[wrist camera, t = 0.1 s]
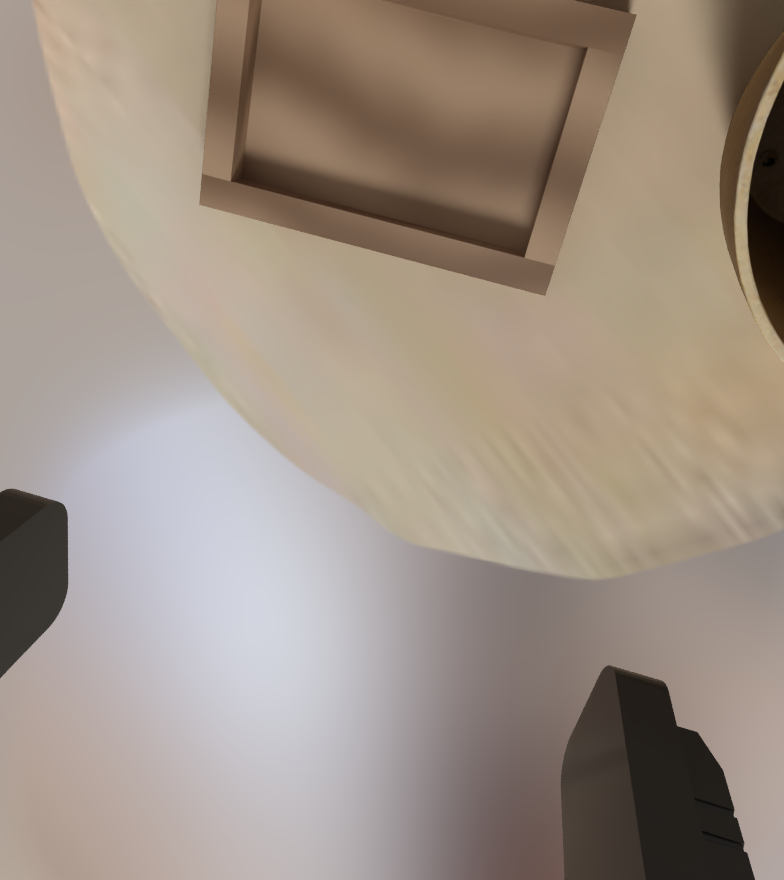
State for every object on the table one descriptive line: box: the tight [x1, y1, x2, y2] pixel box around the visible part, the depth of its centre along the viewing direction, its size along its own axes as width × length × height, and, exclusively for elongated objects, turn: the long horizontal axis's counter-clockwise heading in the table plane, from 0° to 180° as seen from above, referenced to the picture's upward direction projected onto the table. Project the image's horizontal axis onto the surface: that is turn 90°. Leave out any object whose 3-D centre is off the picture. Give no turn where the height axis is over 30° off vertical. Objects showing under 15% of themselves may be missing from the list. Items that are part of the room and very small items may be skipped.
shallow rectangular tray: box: [199, 0, 636, 296], centre depth 33 cm, size 12×18×2 cm, turn 78°
